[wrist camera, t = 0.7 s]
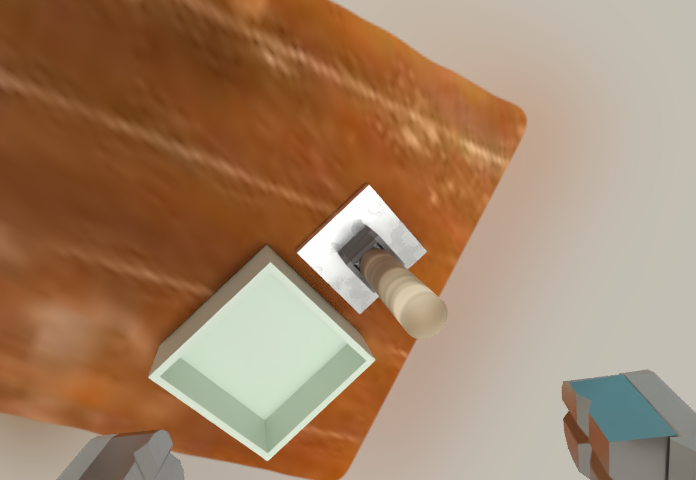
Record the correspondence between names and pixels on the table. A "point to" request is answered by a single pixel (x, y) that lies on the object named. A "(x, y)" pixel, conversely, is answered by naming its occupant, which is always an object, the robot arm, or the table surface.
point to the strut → (394, 284)
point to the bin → (262, 355)
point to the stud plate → (342, 229)
